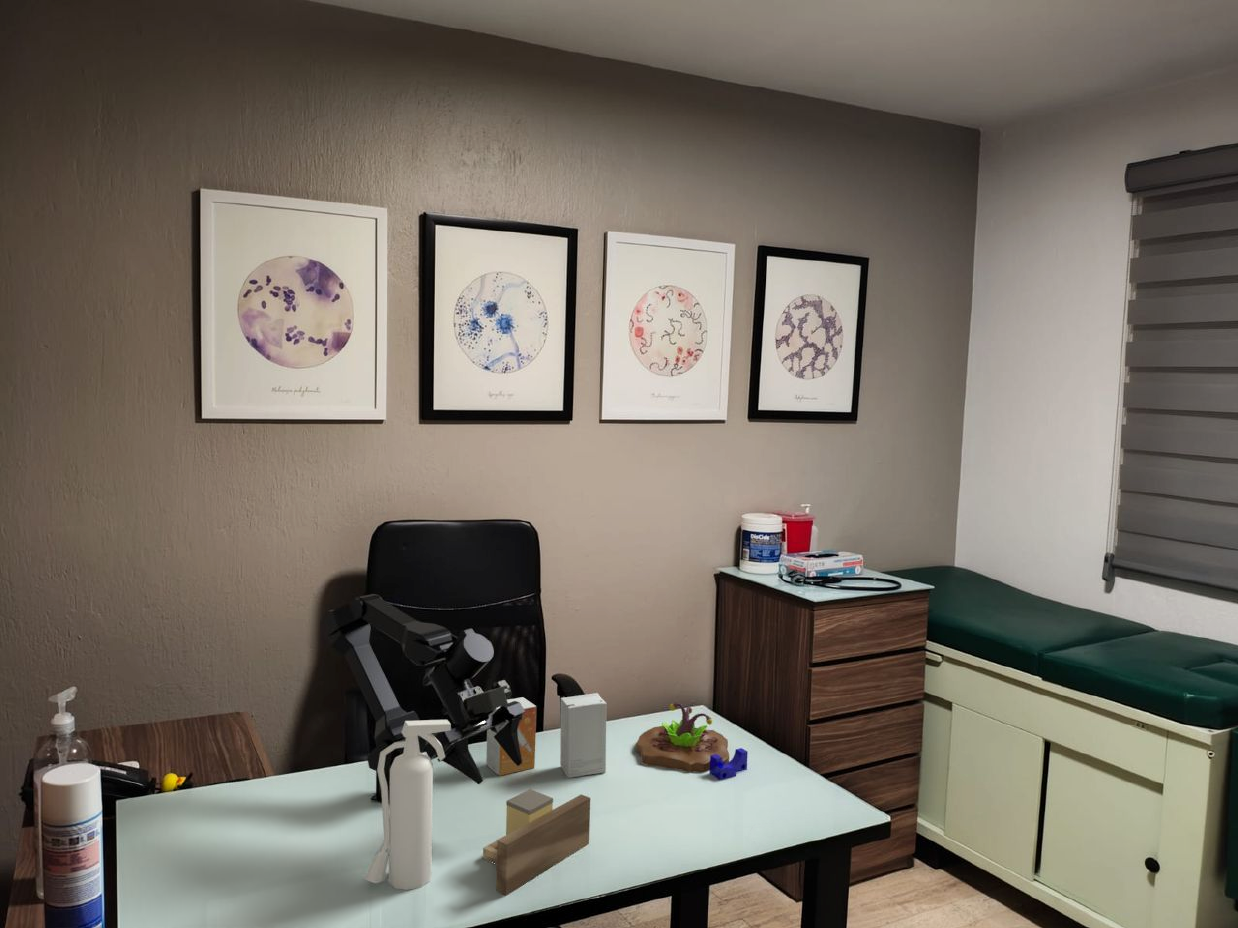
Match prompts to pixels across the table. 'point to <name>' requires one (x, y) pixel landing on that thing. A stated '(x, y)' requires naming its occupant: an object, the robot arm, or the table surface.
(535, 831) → the wall board
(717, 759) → the cable holder
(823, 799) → the table surface
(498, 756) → the small box
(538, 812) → the grey-topped square block
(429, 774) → the fire extinguisher
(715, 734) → the plant
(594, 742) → the skincare box
